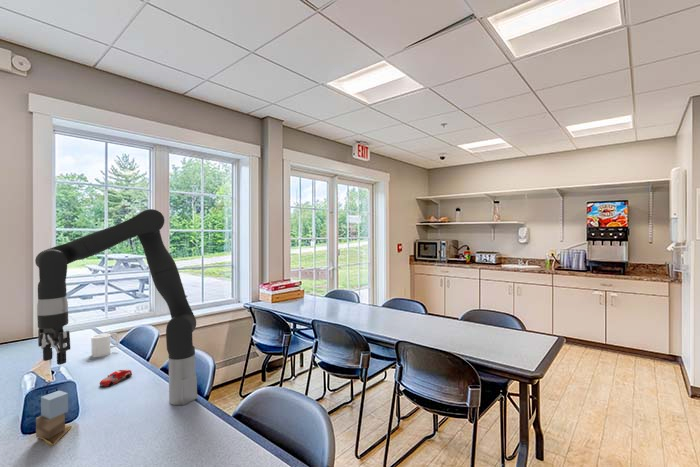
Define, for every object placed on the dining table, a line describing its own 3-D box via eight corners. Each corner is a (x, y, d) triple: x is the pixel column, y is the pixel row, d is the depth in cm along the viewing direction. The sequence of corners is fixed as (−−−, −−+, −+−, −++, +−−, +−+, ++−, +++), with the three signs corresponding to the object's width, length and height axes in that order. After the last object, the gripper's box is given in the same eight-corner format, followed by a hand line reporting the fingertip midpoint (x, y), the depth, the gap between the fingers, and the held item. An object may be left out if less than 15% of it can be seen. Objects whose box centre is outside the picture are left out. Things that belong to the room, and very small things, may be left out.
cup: (120, 352, 188) (119, 334, 188) (92, 358, 180) (92, 339, 180) (117, 349, 194) (117, 331, 194) (90, 354, 186) (90, 335, 186)
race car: (105, 389, 146) (105, 379, 146) (96, 387, 147) (96, 378, 147) (134, 376, 158) (134, 367, 158) (125, 374, 160) (125, 366, 160)
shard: (53, 448, 106) (53, 442, 106) (23, 452, 105) (23, 446, 105) (73, 429, 117) (72, 423, 117) (46, 432, 115) (46, 426, 115)
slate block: (68, 411, 113) (67, 393, 113) (49, 419, 109) (49, 400, 109) (59, 408, 115) (59, 390, 115) (41, 415, 111) (40, 397, 111)
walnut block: (65, 429, 113) (64, 411, 113) (49, 438, 109) (48, 419, 108) (52, 428, 114) (52, 409, 114) (36, 437, 109) (35, 418, 109)
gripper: (78, 310, 112) (80, 361, 112) (55, 307, 118) (56, 355, 118) (50, 316, 105) (51, 369, 105) (27, 312, 111) (28, 362, 112)
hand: (54, 361), depth 112 cm, fingers open, 8 cm apart
